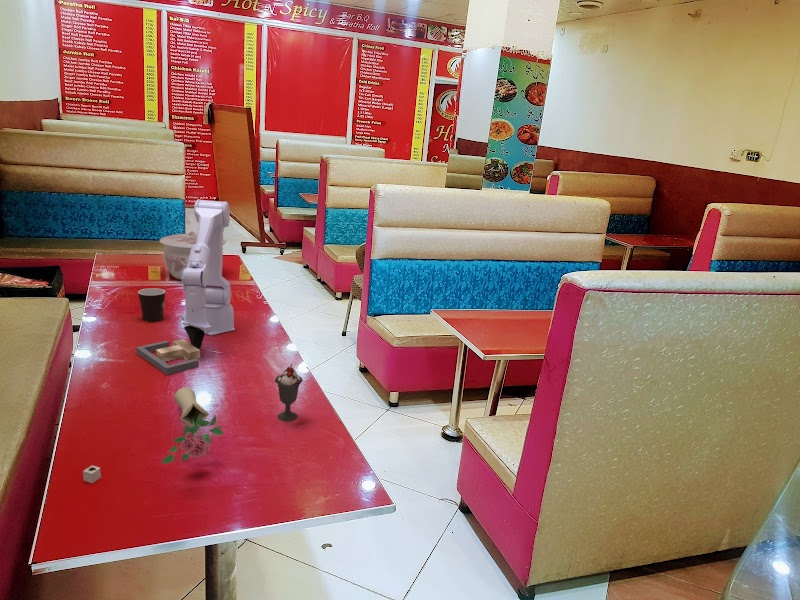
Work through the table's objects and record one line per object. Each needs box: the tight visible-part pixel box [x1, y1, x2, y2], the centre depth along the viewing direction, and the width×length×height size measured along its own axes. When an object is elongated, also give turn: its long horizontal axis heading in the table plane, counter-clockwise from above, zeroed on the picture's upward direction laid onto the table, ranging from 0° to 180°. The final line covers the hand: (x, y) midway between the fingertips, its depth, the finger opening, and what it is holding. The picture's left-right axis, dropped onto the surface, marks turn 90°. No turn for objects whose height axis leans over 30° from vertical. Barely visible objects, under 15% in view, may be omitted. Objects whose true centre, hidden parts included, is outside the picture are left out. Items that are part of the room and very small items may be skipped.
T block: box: [155, 338, 201, 363], centre depth 169 cm, size 10×11×3 cm
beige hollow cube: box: [82, 465, 102, 484], centre depth 111 cm, size 2×2×2 cm
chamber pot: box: [159, 231, 227, 281], centre depth 249 cm, size 28×28×21 cm
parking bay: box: [135, 340, 200, 376], centre depth 167 cm, size 10×19×2 cm, turn 48°
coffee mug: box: [137, 287, 166, 323], centre depth 198 cm, size 12×9×10 cm
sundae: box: [274, 363, 304, 422], centre depth 139 cm, size 7×7×15 cm
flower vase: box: [160, 386, 225, 464], centre depth 126 cm, size 12×12×35 cm
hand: (196, 348), depth 173 cm, fingers closed
